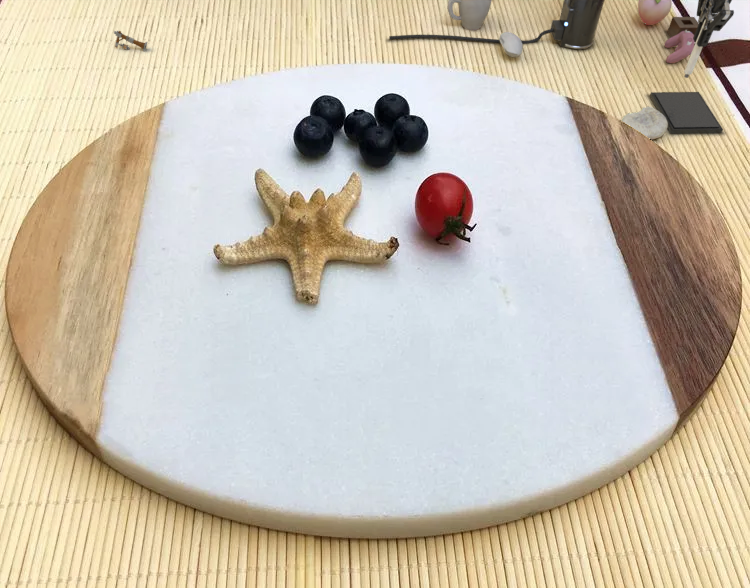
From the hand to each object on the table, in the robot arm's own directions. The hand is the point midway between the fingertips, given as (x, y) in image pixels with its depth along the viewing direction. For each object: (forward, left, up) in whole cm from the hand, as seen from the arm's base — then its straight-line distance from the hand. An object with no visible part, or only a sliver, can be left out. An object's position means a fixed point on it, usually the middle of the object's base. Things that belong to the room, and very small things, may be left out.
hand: (699, 42), depth 152 cm
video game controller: (+7, +21, -14) cm, 26 cm away
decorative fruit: (+5, +38, -14) cm, 41 cm away
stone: (-37, +22, -14) cm, 45 cm away
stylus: (0, 0, -8) cm, 8 cm away
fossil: (-12, -12, -14) cm, 22 cm away
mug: (-46, +38, -14) cm, 61 cm away
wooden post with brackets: (-134, +26, -14) cm, 137 cm away
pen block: (+12, +31, -14) cm, 36 cm away
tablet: (0, -6, -14) cm, 15 cm away
